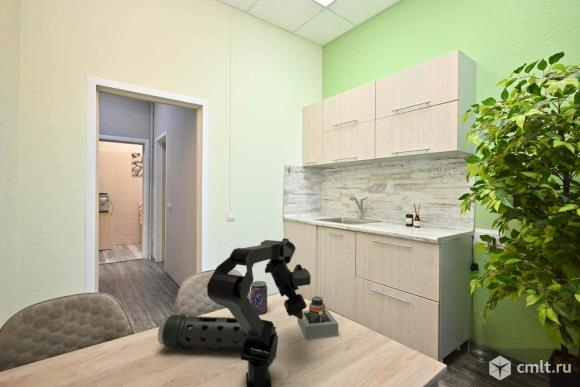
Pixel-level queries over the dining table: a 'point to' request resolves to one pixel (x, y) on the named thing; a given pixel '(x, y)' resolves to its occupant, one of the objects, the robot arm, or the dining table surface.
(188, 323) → the muzzle brake
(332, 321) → the socket housing
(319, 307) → the supplement bottle
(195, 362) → the dining table surface
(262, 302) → the beverage can
